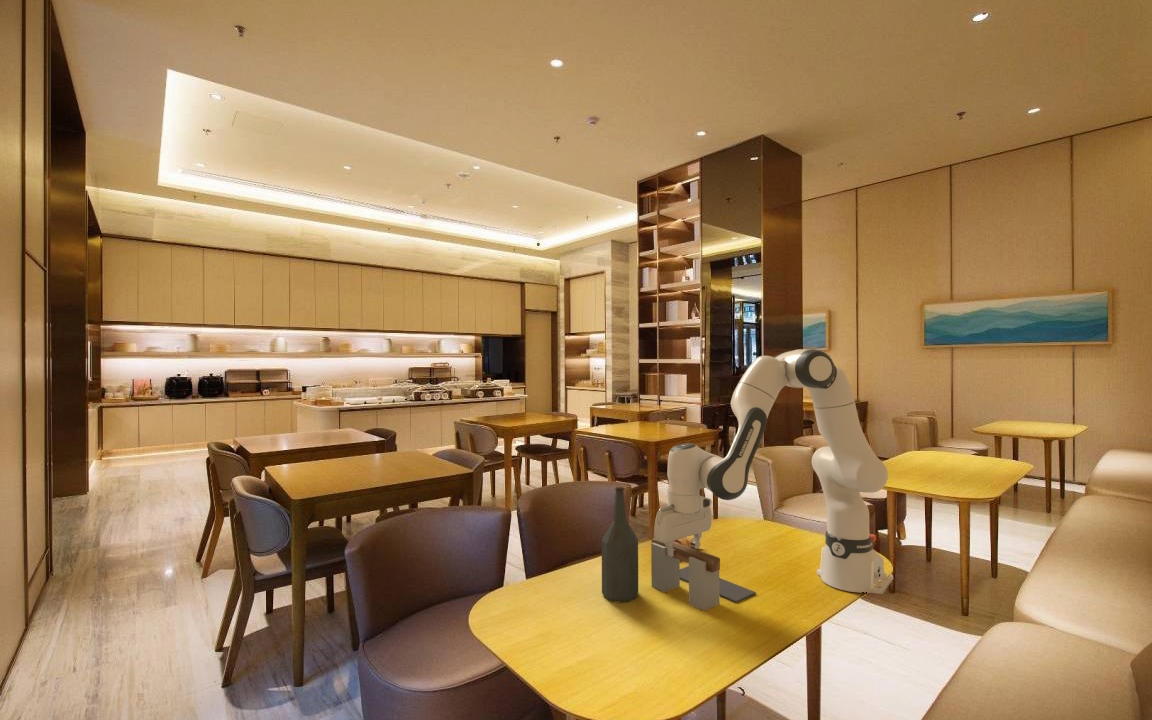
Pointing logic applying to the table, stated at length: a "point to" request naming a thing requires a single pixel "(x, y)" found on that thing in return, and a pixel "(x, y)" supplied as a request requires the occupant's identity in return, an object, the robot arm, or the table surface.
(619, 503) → the bottle
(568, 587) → the table surface
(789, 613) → the table surface
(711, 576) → the post
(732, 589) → the mat
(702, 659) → the table surface
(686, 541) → the croissant
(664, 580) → the post
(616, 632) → the table surface
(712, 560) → the rail
